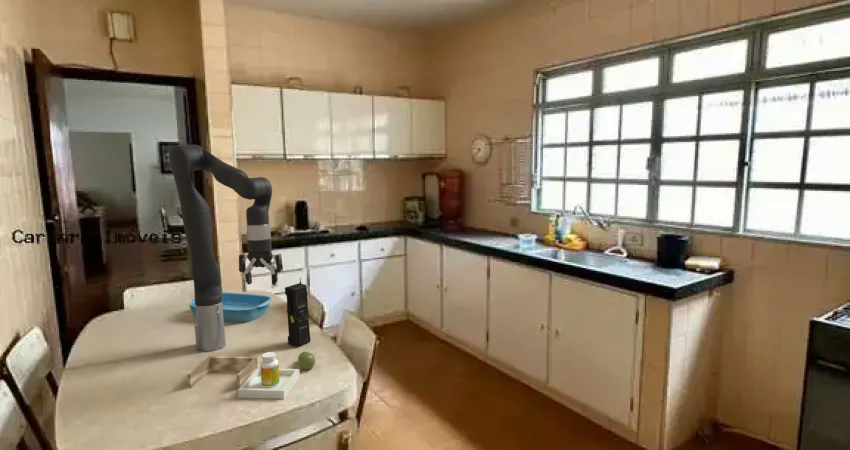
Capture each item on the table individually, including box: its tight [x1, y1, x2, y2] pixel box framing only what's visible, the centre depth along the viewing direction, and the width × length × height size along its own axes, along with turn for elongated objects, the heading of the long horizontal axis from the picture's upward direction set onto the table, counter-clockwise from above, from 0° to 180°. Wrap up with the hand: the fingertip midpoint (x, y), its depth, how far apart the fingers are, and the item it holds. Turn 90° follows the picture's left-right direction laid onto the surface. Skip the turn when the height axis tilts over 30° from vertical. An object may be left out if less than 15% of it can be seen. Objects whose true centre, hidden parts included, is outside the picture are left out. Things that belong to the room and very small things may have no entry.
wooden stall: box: [187, 355, 258, 390], centre depth 152 cm, size 17×13×4 cm
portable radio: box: [284, 278, 312, 348], centre depth 177 cm, size 8×6×25 cm
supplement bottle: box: [259, 351, 280, 388], centre depth 146 cm, size 5×5×10 cm
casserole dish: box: [188, 291, 272, 323], centre depth 212 cm, size 37×22×7 cm, turn 78°
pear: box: [297, 351, 316, 371], centre depth 160 cm, size 6×5×10 cm
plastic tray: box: [237, 367, 301, 400], centre depth 146 cm, size 14×14×2 cm
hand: (261, 284), depth 159 cm, fingers open, 8 cm apart
